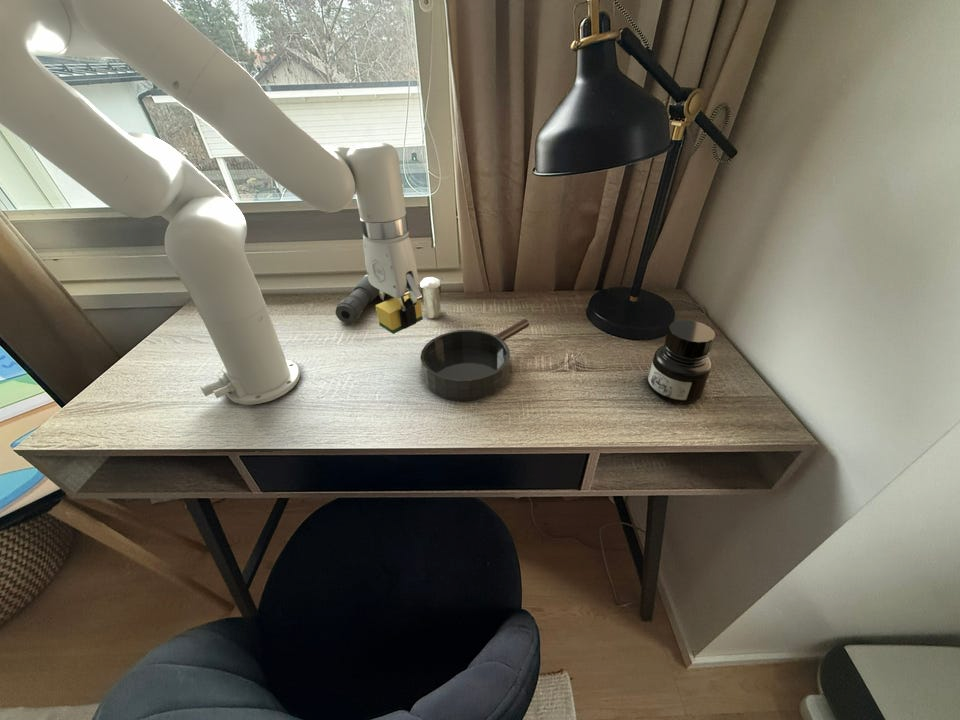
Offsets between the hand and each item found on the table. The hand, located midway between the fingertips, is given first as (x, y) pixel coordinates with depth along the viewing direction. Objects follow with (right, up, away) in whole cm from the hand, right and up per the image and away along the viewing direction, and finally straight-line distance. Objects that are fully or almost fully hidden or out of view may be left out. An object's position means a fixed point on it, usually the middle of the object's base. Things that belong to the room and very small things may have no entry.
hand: (401, 319), depth 81 cm
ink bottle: (+49, -13, -7) cm, 51 cm away
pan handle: (+21, -3, +4) cm, 22 cm away
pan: (+13, -10, -2) cm, 16 cm away
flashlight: (-13, +5, +20) cm, 24 cm away
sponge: (0, 0, 0) cm, 1 cm away
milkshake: (+5, +2, +16) cm, 17 cm away
